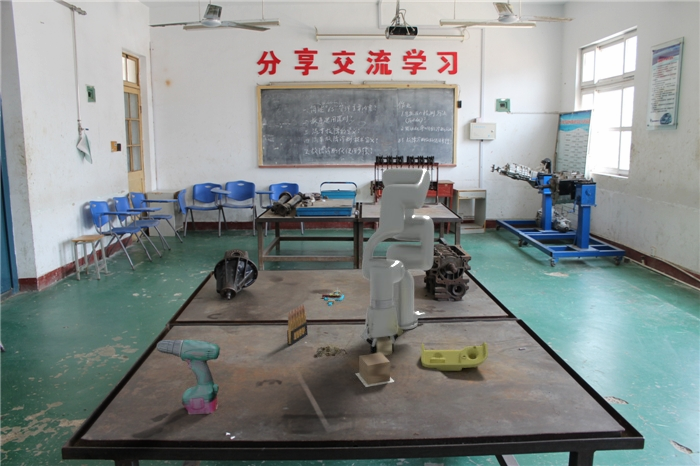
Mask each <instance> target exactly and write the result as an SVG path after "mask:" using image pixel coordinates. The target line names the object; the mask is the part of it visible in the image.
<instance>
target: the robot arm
mask: <svg viewBox="0 0 700 466" xmlns="http://www.w3.org/2000/svg"><path fill="white" fill-rule="evenodd" d="M381 178H382V181H381V182H382V185H383V186H384V188H383V189H382V193H381V199H380V210H379V211H380V212H379V221H378V228H377V230H376V231H374V232H373V234H372V235H371V236H370V237H369V239H368V240H367V242H366V243H365V245H364V248H363V253H362V262H361V264H362V265H361V274H362V276H363V278H364V279H365V280H367V281H369V292H370V293H369V297H370V298H369V304H370V305H368V306H367V309H366V314H365V324H364V326H365V327H364V331H362V333H361V334H360V338H361V340H363V341H365V342H367V343H368V345H370V354H374V353H377V347H376V340H377V338H379V337H386V336H388V337H389V338H390V339H391V340H392V354H393V353H394V350H395V348H394V347H395V344H396V340H397V339H398V338H399V337H400V336H401V335H402V334H403V332H404V330H411V329H415V328H416V327H418V326H419V321H418V319H425V318H426V317H427V315H426V312H420V311H415V278H414V276H413V275H412V273H411V270H412V271H429V270H430V269H432V267H433V265H434V256H435V255H434V254H435V252H434V248H435V247H434V246H435V245H434V243H435V225H434V220H433V219H432V217H430V216H428V215H418V214H417V215H416V214H415V210H419V209H422V207H424V203H425V201H426V198H427V195H428V192H429V189H430V185H431V175H430V172H429V171H428V170H427V169H426V168H419V167H418V168H417V167H416V168H412V167H411V168H408V167H406V168H405V167H395V168H388V169H386V170H384V171H383V172H382V174H381ZM389 238H393V239H395V240H399V241H410V242H411V241H412V242H414V241H415V242H416V241H417V242H420V244H415V243H393V244H391V245H390V246H388V248H386V249H387V250H386V254H385V255H386V259H385V258H374V256H373V255H374V251H375V250H376V247H377V246H378V245H380V243H382V242H383V241H385V240H387V239H389ZM409 270H410V271H409ZM368 335H369V337H368Z"/></svg>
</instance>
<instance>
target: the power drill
mask: <svg viewBox="0 0 700 466" xmlns="http://www.w3.org/2000/svg"><path fill="white" fill-rule="evenodd" d="M156 350H157V351H158V352H160V353H162V354H167V355H172V356H175V357H178V358H180V359H181V360H182V361H183V362H186V363H187V369H189V370H191V371H192V372H193V373H194V375H195V379H196V383H197V384H196V385H194V386H192V387H189V388H187V389H186V390H185V391H184V392H183V394H182V398H181V404H182V405H183V407H184V408H185V409H186V410H187V414H188V415H203V414H213V413H214V412H215V410H218V407H219V404H218V393H219V385H218V384H217V383H215V382H214V378H213V374H212V372H211V369H210V367H209V364H208V361H211V360H217V359H219V356H220V352H221V349H220V346H219V345H218V344H217V343H214V342H213V343H211V342H207V341H205V340H204V341H203V340H193V339H177V340H175V339H165V340H160V341H158V342H157V343H156Z"/></svg>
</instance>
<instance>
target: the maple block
mask: <svg viewBox="0 0 700 466" xmlns="http://www.w3.org/2000/svg"><path fill="white" fill-rule="evenodd" d="M376 347H377V353H380V352H381V353H382V354H383V355H384V356H385V357H386V356H389V355H393V353H392V340H391V339H390V338H389V337H388V336H386V337H379V338H377V340H376Z"/></svg>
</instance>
